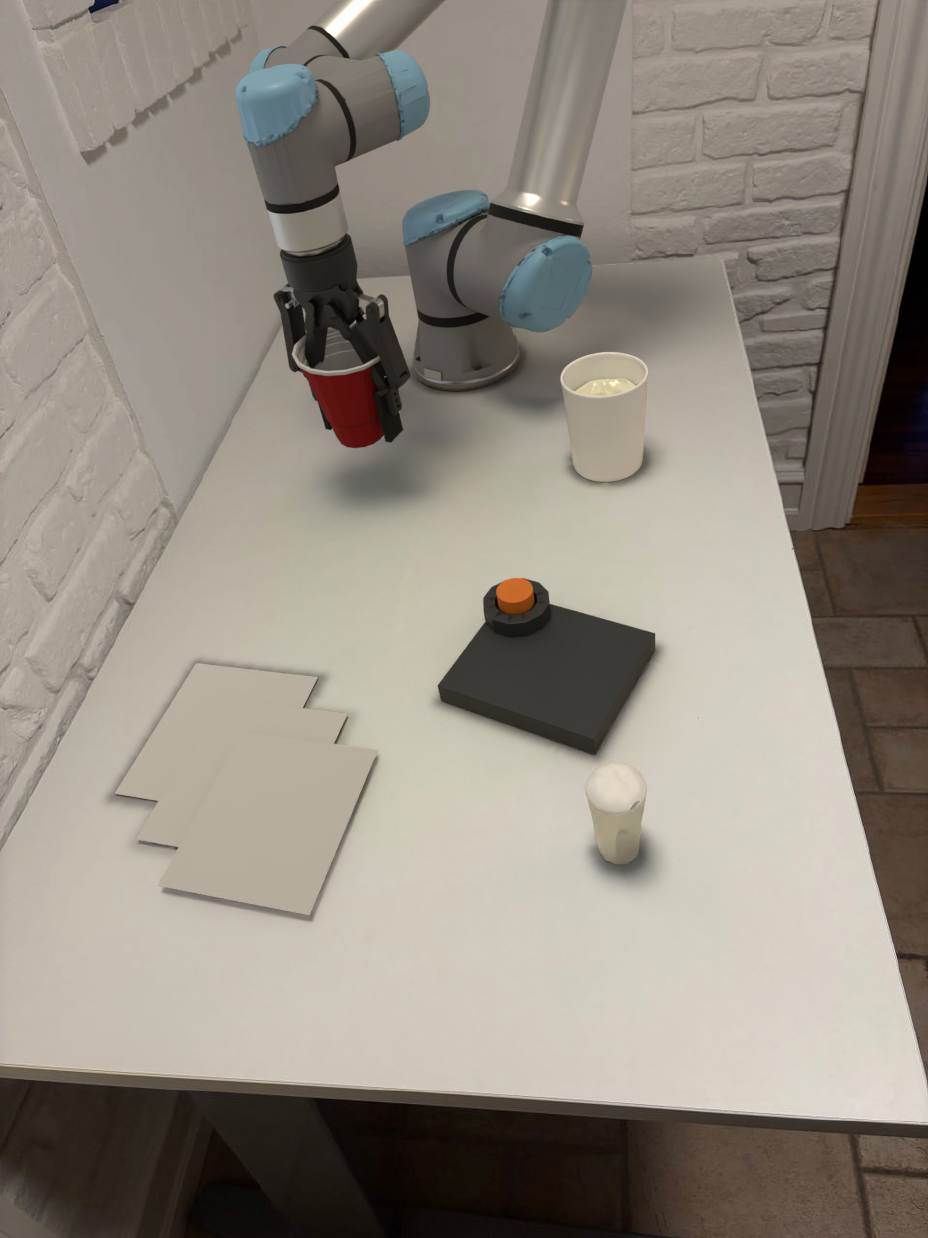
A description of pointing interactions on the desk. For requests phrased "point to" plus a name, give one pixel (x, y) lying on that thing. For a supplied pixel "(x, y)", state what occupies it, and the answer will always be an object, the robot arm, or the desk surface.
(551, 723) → the dark grey flat block
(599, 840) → the milkshake
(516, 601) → the button
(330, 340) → the plastic cup
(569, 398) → the white paper cup
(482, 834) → the desk surface
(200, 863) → the paper stack
